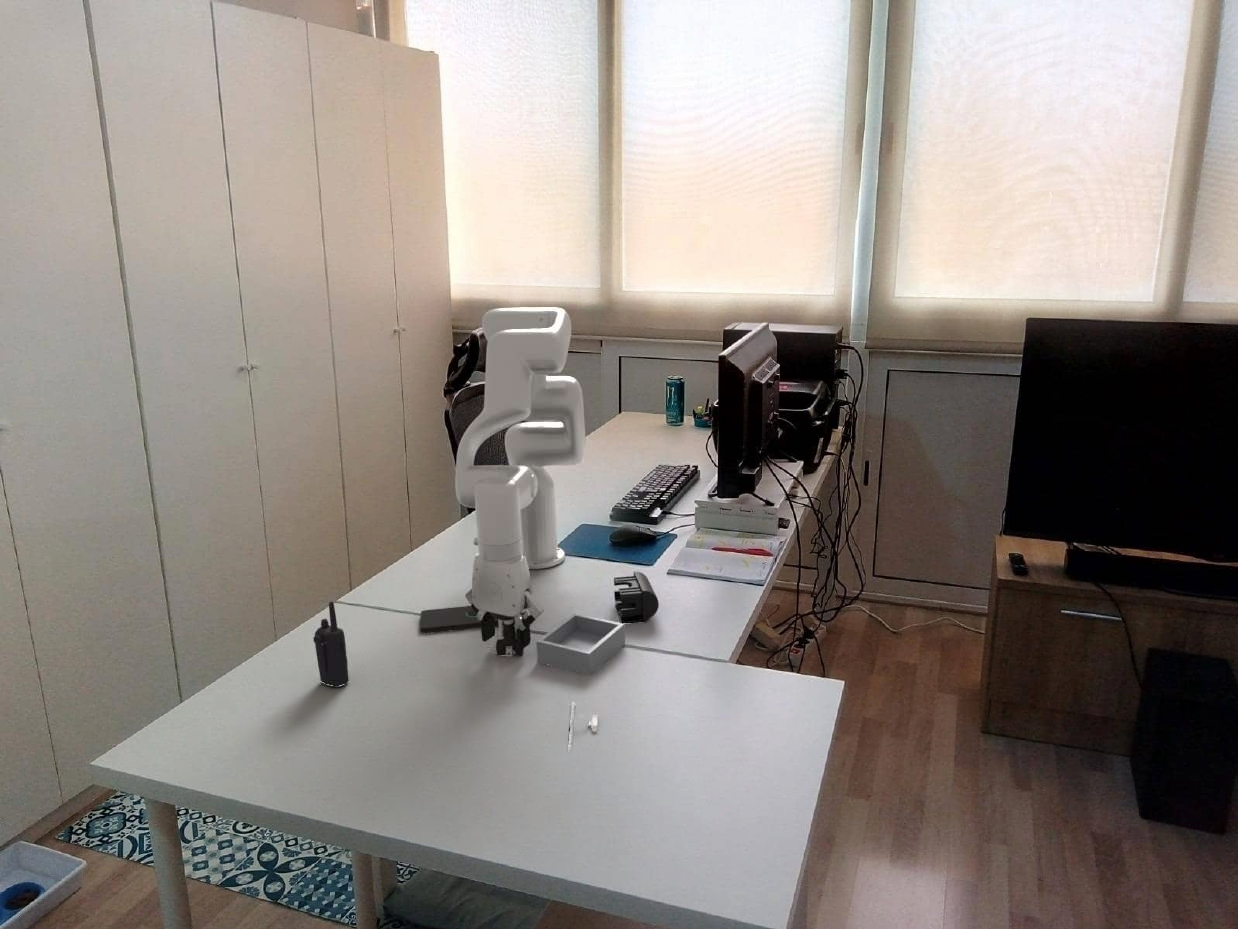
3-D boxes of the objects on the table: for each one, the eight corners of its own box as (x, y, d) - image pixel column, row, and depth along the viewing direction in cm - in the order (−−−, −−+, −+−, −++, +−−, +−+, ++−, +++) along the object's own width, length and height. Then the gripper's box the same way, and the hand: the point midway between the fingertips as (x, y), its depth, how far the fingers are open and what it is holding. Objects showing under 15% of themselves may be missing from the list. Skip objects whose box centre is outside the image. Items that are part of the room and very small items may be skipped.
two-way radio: (354, 682, 150) (344, 600, 146) (333, 694, 146) (323, 610, 142) (331, 675, 153) (321, 594, 149) (310, 686, 149) (299, 604, 145)
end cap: (659, 622, 170) (658, 589, 168) (622, 626, 169) (621, 592, 167) (649, 601, 179) (648, 569, 177) (614, 604, 178) (613, 572, 176)
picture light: (570, 703, 143) (570, 692, 142) (598, 703, 143) (598, 691, 142) (566, 755, 129) (566, 742, 129) (596, 755, 129) (596, 742, 129)
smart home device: (527, 617, 170) (419, 628, 166) (527, 625, 170) (420, 636, 167) (523, 599, 178) (420, 609, 174) (523, 607, 178) (421, 617, 175)
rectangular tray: (537, 662, 155) (536, 641, 154) (574, 632, 166) (574, 613, 165) (590, 675, 150) (589, 654, 149) (625, 644, 161) (624, 624, 160)
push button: (486, 661, 156) (482, 608, 153) (490, 647, 161) (486, 595, 159) (524, 660, 156) (521, 607, 153) (526, 646, 161) (524, 595, 159)
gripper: (446, 547, 154) (453, 641, 159) (530, 564, 146) (535, 662, 151) (473, 534, 160) (479, 624, 165) (554, 549, 152) (558, 643, 157)
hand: (506, 642), depth 158 cm, fingers open, 6 cm apart
